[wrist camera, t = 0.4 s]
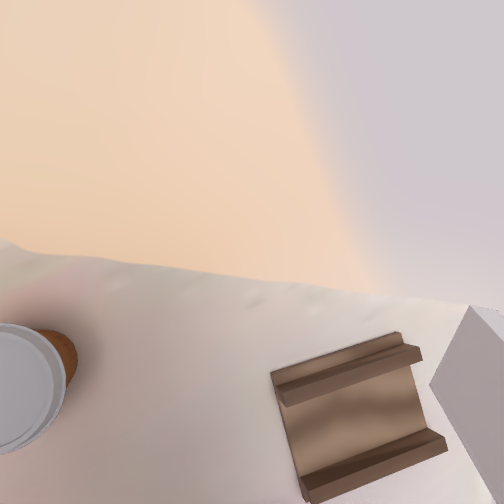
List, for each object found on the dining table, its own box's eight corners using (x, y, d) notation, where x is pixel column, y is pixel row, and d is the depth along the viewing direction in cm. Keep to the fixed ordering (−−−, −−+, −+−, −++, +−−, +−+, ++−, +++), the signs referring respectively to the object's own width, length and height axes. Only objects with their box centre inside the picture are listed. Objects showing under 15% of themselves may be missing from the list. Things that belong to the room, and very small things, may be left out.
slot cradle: (428, 447, 47) (451, 462, 43) (303, 497, 43) (315, 518, 39) (396, 331, 47) (416, 335, 43) (270, 372, 44) (279, 381, 40)
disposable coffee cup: (102, 321, 41) (73, 334, 29) (83, 415, 40) (44, 468, 28) (4, 307, 39) (-69, 315, 28) (-19, 405, 38) (-105, 456, 27)
